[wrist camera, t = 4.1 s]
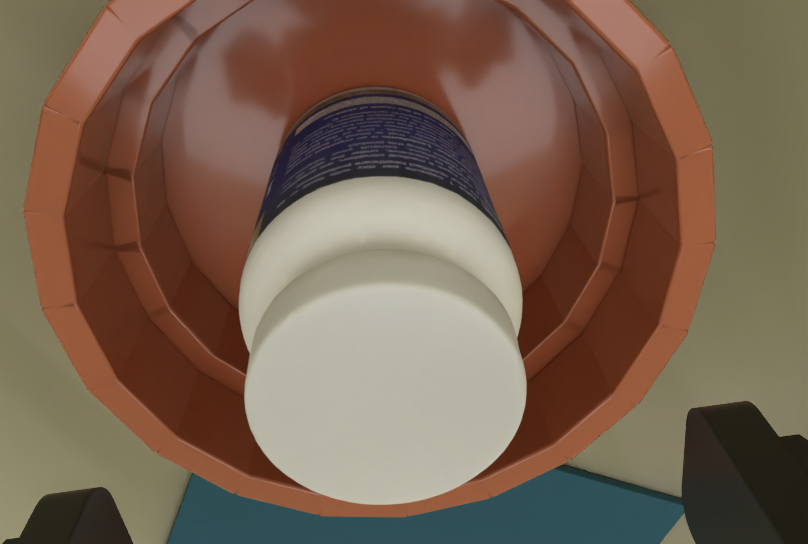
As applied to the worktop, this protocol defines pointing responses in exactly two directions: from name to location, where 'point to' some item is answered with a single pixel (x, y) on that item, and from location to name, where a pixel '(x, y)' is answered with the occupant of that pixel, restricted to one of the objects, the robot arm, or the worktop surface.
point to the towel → (445, 517)
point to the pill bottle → (380, 305)
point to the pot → (250, 171)
